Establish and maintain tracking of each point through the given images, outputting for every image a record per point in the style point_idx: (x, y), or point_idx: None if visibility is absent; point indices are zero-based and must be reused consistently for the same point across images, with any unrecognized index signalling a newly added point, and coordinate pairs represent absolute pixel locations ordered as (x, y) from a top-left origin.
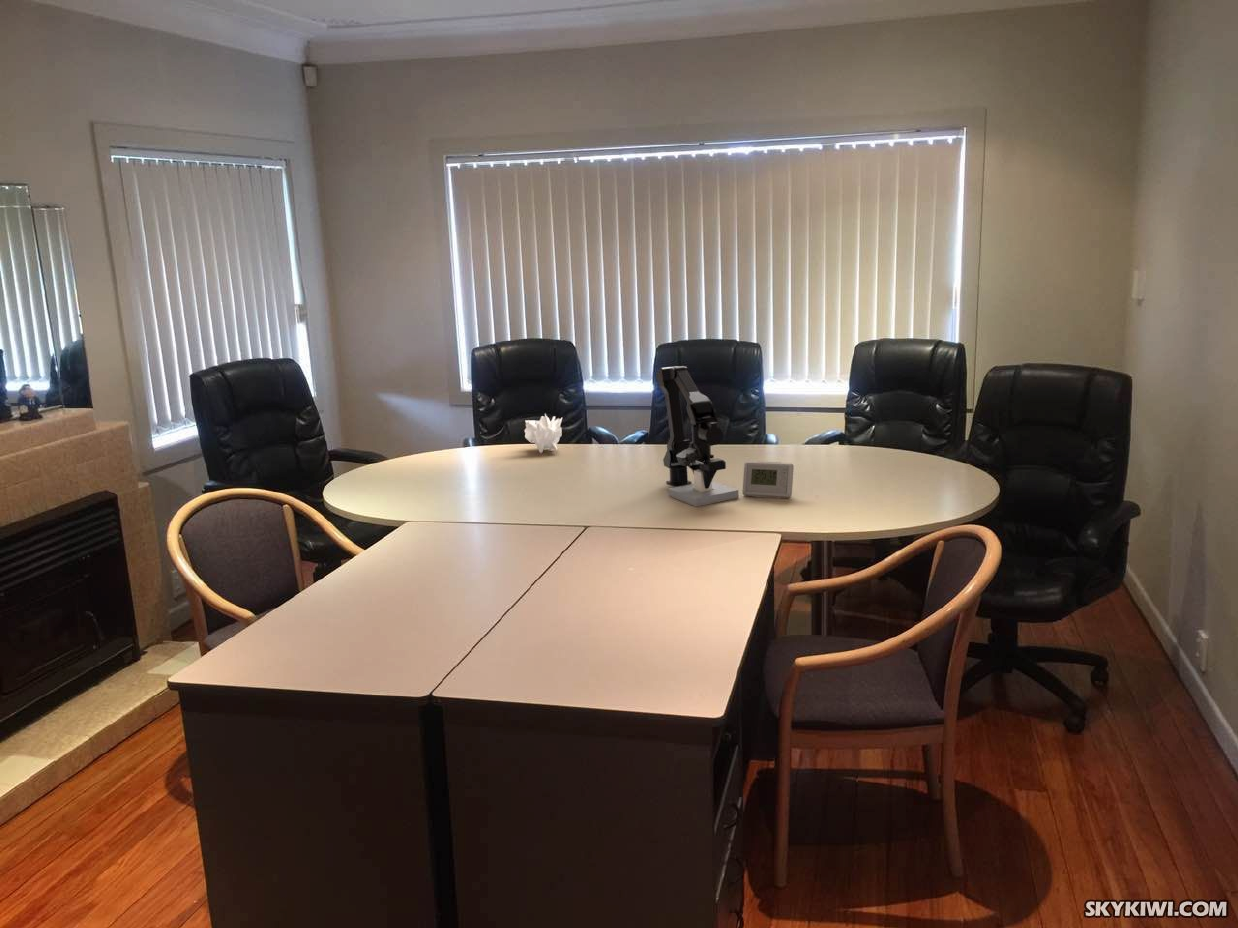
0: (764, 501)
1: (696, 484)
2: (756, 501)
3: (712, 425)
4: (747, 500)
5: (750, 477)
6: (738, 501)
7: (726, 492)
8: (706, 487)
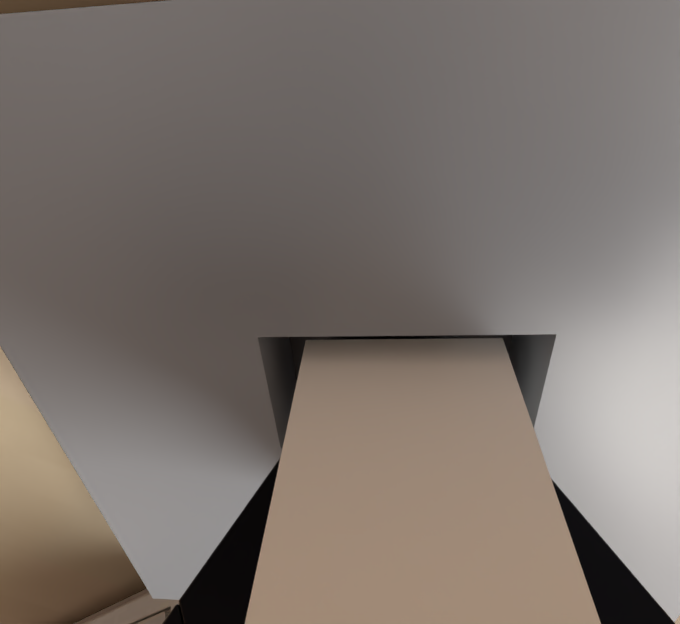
0: (8, 567)
1: (456, 438)
2: (22, 544)
3: None
4: (71, 526)
5: None
6: (63, 481)
7: (105, 518)
8: (277, 468)
